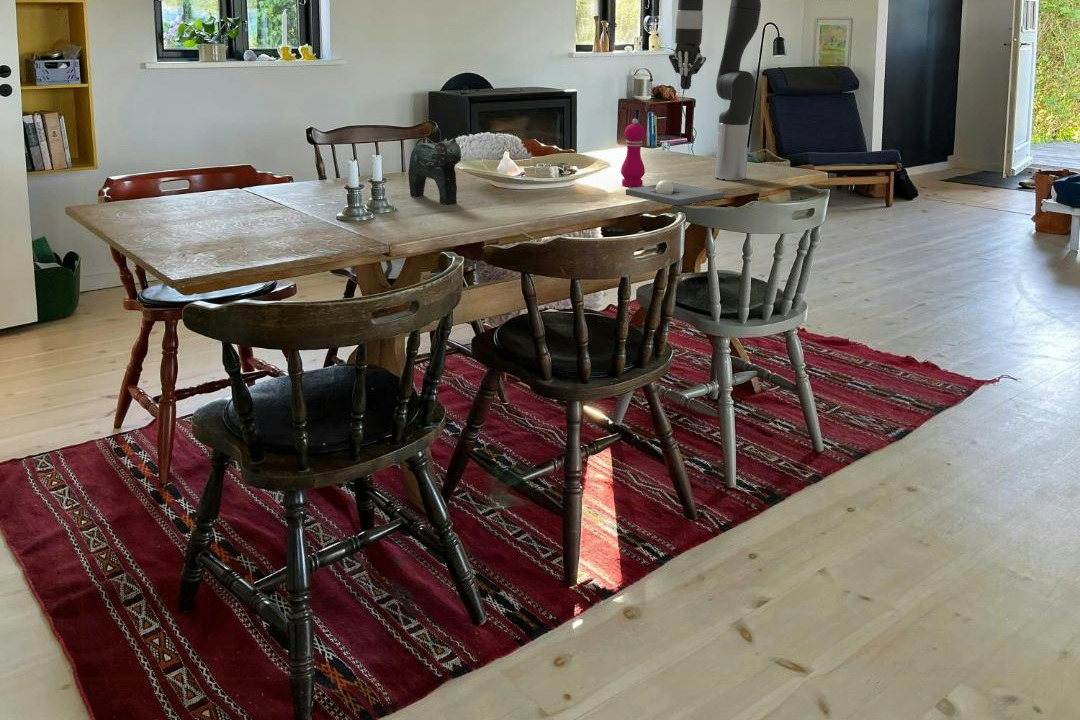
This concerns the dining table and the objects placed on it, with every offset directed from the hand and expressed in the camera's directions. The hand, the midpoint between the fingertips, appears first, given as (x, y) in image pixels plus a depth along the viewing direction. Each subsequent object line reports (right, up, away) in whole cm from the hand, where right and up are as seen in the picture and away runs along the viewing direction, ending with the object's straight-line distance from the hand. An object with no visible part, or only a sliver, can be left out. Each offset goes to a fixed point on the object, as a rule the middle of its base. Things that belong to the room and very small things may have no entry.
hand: (685, 89), depth 310 cm
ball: (-7, -30, -6) cm, 32 cm away
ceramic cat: (-72, -35, -15) cm, 82 cm away
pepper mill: (-15, -27, +12) cm, 32 cm away
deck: (-4, -32, -3) cm, 32 cm away
